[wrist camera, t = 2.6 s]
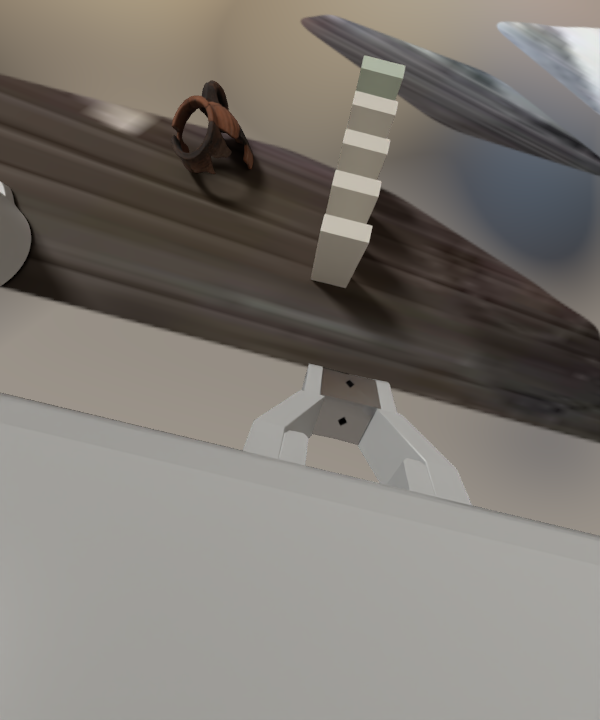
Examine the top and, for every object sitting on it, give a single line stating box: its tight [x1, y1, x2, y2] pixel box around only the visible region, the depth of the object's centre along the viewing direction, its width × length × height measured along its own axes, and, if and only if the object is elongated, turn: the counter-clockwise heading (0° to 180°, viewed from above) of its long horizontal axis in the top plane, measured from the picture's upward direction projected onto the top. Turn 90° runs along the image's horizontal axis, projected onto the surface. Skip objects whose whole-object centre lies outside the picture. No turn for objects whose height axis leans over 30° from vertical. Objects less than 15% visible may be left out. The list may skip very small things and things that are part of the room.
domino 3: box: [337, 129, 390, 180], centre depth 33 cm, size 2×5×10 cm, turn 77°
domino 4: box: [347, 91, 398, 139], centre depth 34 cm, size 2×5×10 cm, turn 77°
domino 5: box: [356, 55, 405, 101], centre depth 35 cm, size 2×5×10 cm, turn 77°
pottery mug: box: [171, 81, 253, 174], centre depth 36 cm, size 12×10×8 cm
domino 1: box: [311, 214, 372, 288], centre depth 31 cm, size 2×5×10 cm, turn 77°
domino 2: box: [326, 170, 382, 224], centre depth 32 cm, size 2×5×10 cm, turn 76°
